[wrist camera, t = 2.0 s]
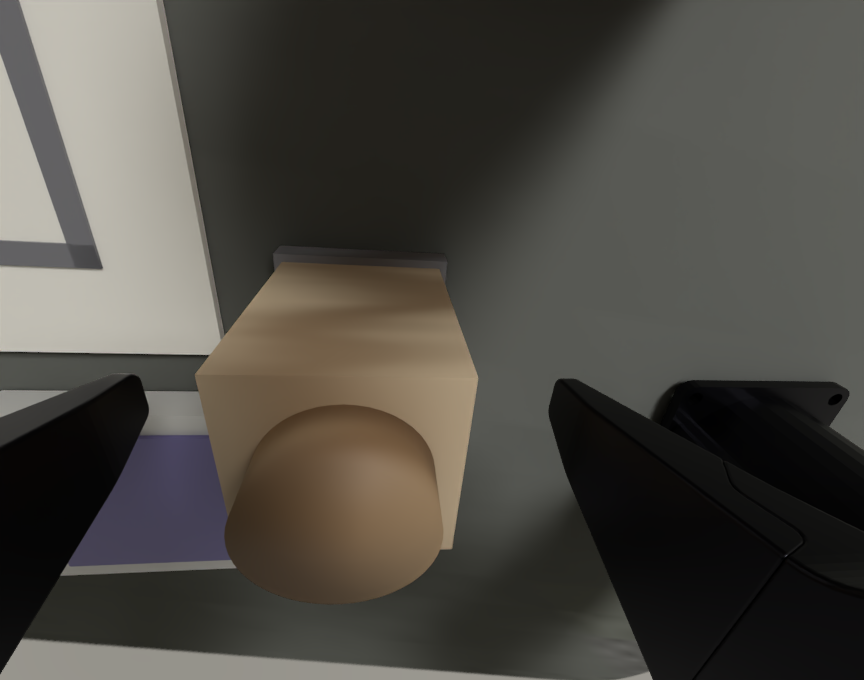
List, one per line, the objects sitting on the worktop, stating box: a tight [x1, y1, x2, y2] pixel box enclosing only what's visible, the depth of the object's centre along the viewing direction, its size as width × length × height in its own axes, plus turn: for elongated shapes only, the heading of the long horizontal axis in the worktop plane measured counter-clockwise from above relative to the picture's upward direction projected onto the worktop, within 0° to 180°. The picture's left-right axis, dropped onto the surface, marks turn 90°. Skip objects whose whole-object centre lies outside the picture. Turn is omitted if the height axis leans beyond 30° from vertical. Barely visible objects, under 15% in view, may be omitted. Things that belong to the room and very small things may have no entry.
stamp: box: [195, 246, 478, 604], centre depth 9 cm, size 4×4×7 cm
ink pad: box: [0, 390, 236, 576], centre depth 13 cm, size 9×7×1 cm
